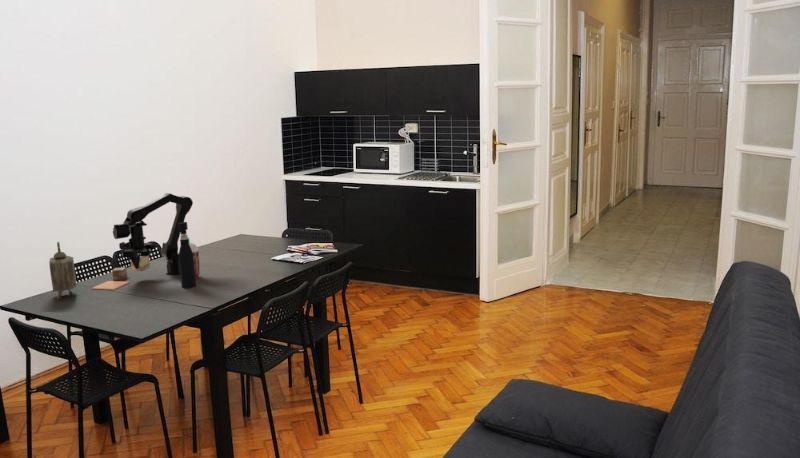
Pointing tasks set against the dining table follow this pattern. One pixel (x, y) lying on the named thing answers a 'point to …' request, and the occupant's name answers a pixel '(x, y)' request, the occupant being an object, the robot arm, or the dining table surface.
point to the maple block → (142, 264)
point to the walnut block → (119, 273)
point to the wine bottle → (186, 259)
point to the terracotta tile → (110, 285)
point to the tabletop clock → (62, 272)
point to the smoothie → (195, 258)
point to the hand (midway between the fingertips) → (140, 267)
